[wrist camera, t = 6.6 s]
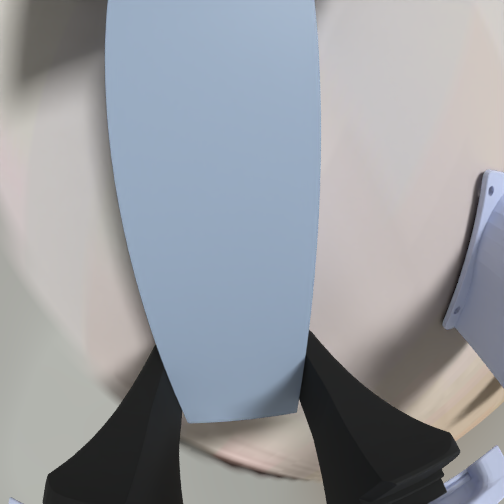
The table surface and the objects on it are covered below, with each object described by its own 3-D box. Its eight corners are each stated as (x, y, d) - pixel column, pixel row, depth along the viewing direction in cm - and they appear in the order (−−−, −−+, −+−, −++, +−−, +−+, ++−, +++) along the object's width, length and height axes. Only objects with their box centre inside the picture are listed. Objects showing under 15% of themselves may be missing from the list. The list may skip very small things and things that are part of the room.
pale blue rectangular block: (282, 361, 13) (296, 412, 10) (189, 370, 12) (188, 423, 10) (281, -2, 6) (308, -43, 3) (139, 8, 6) (111, -30, 3)
